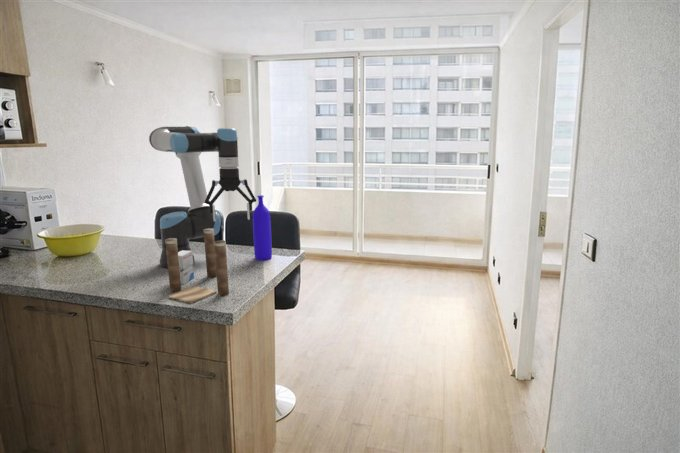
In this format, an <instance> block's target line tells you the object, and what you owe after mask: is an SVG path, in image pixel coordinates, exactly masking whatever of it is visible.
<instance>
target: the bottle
mask: <svg viewBox="0 0 680 453" xmlns="http://www.w3.org/2000/svg"><path fill="white" fill-rule="evenodd" d="M264 196H265V195H261V194H259V195H257V196H256V197H257V198H258V199H257V200H258V204H257V205H256V207H255V209H254V210H252V233H253V235H252V236H253V250H254V251H253V252H254V258H255V260H256V261H268V259H269V260H271V259H272V256H273V247H272V245H273V244H272V227H271V226H272V224H271V222H272V221H271V214H270V213H271V212H270V211H269V209H268V208H267V207H266V206H265V204H264Z"/></svg>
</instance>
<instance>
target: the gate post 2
mask: <svg viewBox="0 0 680 453" xmlns="http://www.w3.org/2000/svg"><path fill="white" fill-rule="evenodd" d="M203 231H204V237H203V240H204V253H205V254H204V255H205V264H206V265H205V266H206V277H207V278H209V279H213V278H217V275H216V262H215V248H214V242H215V241H216V240H215V235H214V229H211V228H210V229H204V230H203Z"/></svg>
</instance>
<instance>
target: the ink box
mask: <svg viewBox="0 0 680 453" xmlns="http://www.w3.org/2000/svg"><path fill="white" fill-rule="evenodd" d="M192 253H193V250H191V251H184V250H182V251H180V252H178V258H179V269H180V280H181V285H185V284H186V283H188V282H189V281H191V280H193V279H194V278H195V271H194V263H193V256H194V254H192Z"/></svg>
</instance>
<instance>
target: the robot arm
mask: <svg viewBox="0 0 680 453" xmlns="http://www.w3.org/2000/svg"><path fill="white" fill-rule="evenodd" d="M216 131H217V132H201V130H200V129H198V128H197V127H195V126H188V125H185V126H159V127H157V128H155V129H154V130H152V131H151V132H150V134H149V136H148V142H149V144H150V146H151V147H152V148H153V149H154V150H156V151H158V152H165V153H166V152H167V153H175V157H176V158H178V159H179V160H180V165H181V170H182V174H183V179H184V182H185V188H186V193H187V196H188V202H189V209H188V210H187V212H186V211H183V210H182V211H174V212H170V213H166V214H164V215H162V216H161V217H160V219H159V229H160V237H161V246H162V247H161V253H160V258H159V267H161V268H166V269H168V263H167V253H166V243H165V240H166V239H169V238H176V239H177V247H178V252H180V251H182V250H184V251H192V249H191V247H190V246H191V245H190V240H194V239H200V238H201V239H202V238H204V231H203V230H204V229H210V228H211V229H214V236H216V235H218V234H219V232H220V230H221V220H222V219H221V214H220V213H219V211H218V210H216V206H215V205H216V204H214V203H216V201H217V199H219V197H220V196H221V195H222V193H223V192H235V191H237V192H238V193H239V194H240V195H241V196H242V197H243V199H245V201H247V203H246V216H247V220H248V221H249V220H251V216H250V212H253V203H255V202H257V199H256V197H255V195H254V193H253V192H252V189H251V188H250V186H249V184H248V180H247V178H244V179H241V180H240V169H239V166H240V165H239V152H238V151H239V149H238V148H239V146H238V139H239V138H238V132H237V129H236V128H232V127H231V128H228V127H227V128H226V127H225V128H224V127H220V128H217V130H216ZM210 152H211V153H212V152H213V153H214V152H218V166H219V180H215V179H213V180H211V187H210V189H209V191H208V193H207V189H206V188H207V187H206V184H205V183H206V182H205V180H204V175H203V171H202V165H201V161H200V157H199V156H200V155H201V154H202V153H210ZM241 184H242V186H244V187H245V188H246V190H247V192H248V194H249V196H250V197H251V198H250V197H249V196H248V195H247V194H246V193H245V192H244V191H243V190H242V189H241V188H240V185H241ZM218 185H219V186H220V188H219V190H218V191H217V192H216V193H215V195H214V196H213V197H212V195H213V192H214V191H215V188H216V187H217V186H218ZM211 197H212V198H211ZM192 254H193V252H192ZM195 262H196V260H195V256H194V254H193V264H194V263H195Z"/></svg>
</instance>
